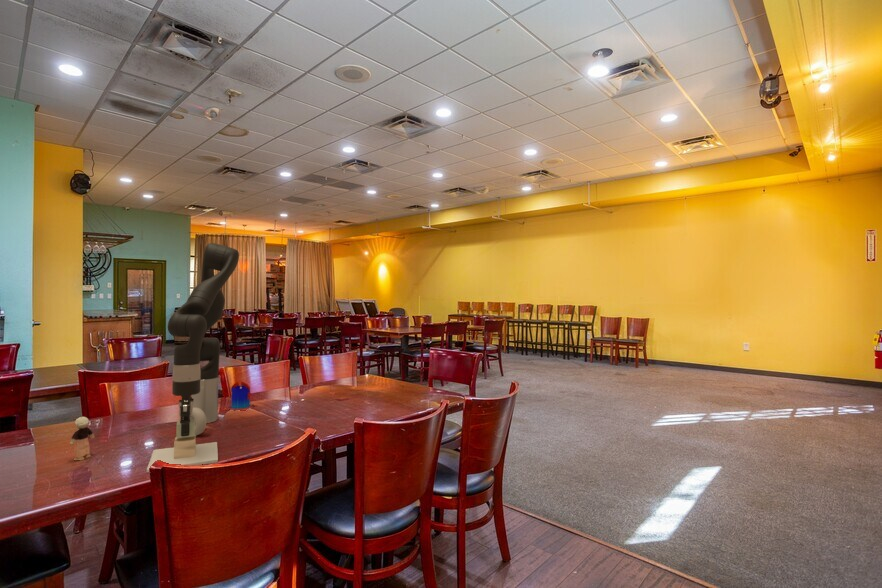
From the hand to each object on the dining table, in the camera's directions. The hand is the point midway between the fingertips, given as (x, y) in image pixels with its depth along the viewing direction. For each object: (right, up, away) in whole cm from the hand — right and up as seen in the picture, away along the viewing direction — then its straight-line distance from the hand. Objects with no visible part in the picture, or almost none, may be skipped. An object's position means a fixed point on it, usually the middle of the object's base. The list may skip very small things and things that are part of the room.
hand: (185, 433), depth 136 cm
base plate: (0, -7, 0) cm, 7 cm away
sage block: (0, -1, 0) cm, 1 cm away
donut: (-9, -8, +21) cm, 24 cm away
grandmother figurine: (-31, -7, -2) cm, 32 cm away
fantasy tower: (-10, -8, +60) cm, 62 cm away
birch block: (0, -7, 0) cm, 7 cm away
